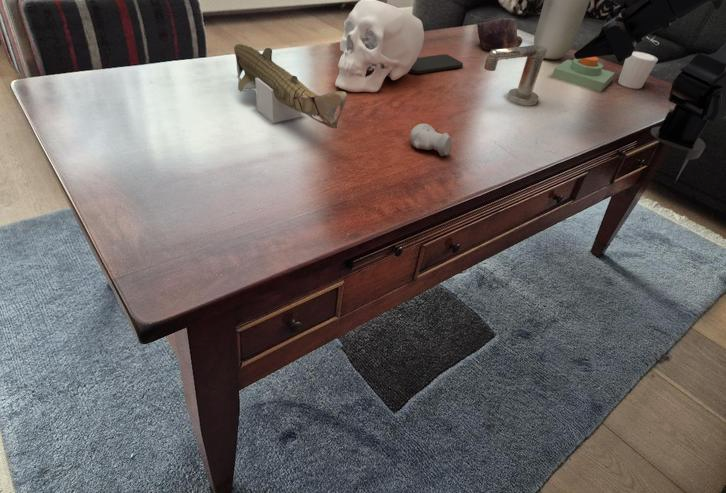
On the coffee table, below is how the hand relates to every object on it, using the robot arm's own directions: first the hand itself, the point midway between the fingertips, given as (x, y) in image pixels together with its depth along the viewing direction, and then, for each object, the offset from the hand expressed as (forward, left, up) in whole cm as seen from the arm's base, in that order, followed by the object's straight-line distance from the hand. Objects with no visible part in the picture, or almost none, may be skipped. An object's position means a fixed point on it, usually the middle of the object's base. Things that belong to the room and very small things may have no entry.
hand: (575, 56), depth 87 cm
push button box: (+3, -32, -13) cm, 35 cm away
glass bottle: (+15, -41, -14) cm, 46 cm away
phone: (+33, -9, -13) cm, 37 cm away
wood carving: (+37, +37, -14) cm, 54 cm away
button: (+3, -32, -10) cm, 34 cm away
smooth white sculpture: (+12, +28, -14) cm, 33 cm away
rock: (+28, -34, -14) cm, 47 cm away
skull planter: (+37, +9, -14) cm, 41 cm away
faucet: (+9, -8, -13) cm, 18 cm away
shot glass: (-7, -39, -14) cm, 42 cm away
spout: (+11, -3, -6) cm, 13 cm away
